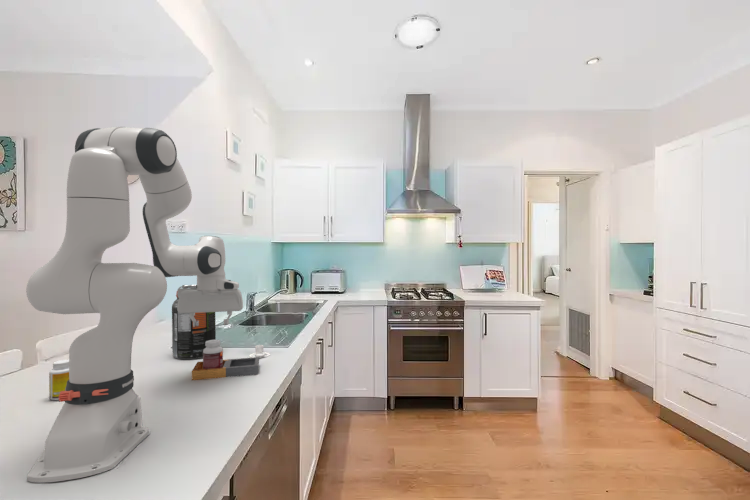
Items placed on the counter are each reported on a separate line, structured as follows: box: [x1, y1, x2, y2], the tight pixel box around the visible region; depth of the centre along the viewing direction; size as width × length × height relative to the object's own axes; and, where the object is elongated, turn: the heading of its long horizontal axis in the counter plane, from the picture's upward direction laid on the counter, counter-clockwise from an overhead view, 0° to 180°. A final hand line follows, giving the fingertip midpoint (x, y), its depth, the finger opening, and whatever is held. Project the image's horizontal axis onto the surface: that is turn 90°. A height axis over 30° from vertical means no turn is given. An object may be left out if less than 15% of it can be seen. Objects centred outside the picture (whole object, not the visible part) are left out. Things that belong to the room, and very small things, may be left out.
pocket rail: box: [191, 356, 260, 381], centre depth 128 cm, size 10×20×3 cm, turn 106°
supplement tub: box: [171, 292, 217, 360], centre depth 150 cm, size 16×16×26 cm
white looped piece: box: [248, 344, 271, 359], centre depth 149 cm, size 9×8×4 cm
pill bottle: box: [202, 339, 224, 369], centre depth 127 cm, size 6×6×11 cm
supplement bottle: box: [48, 359, 69, 401], centre depth 107 cm, size 6×6×10 cm
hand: (211, 325), depth 127 cm, fingers open, 8 cm apart
